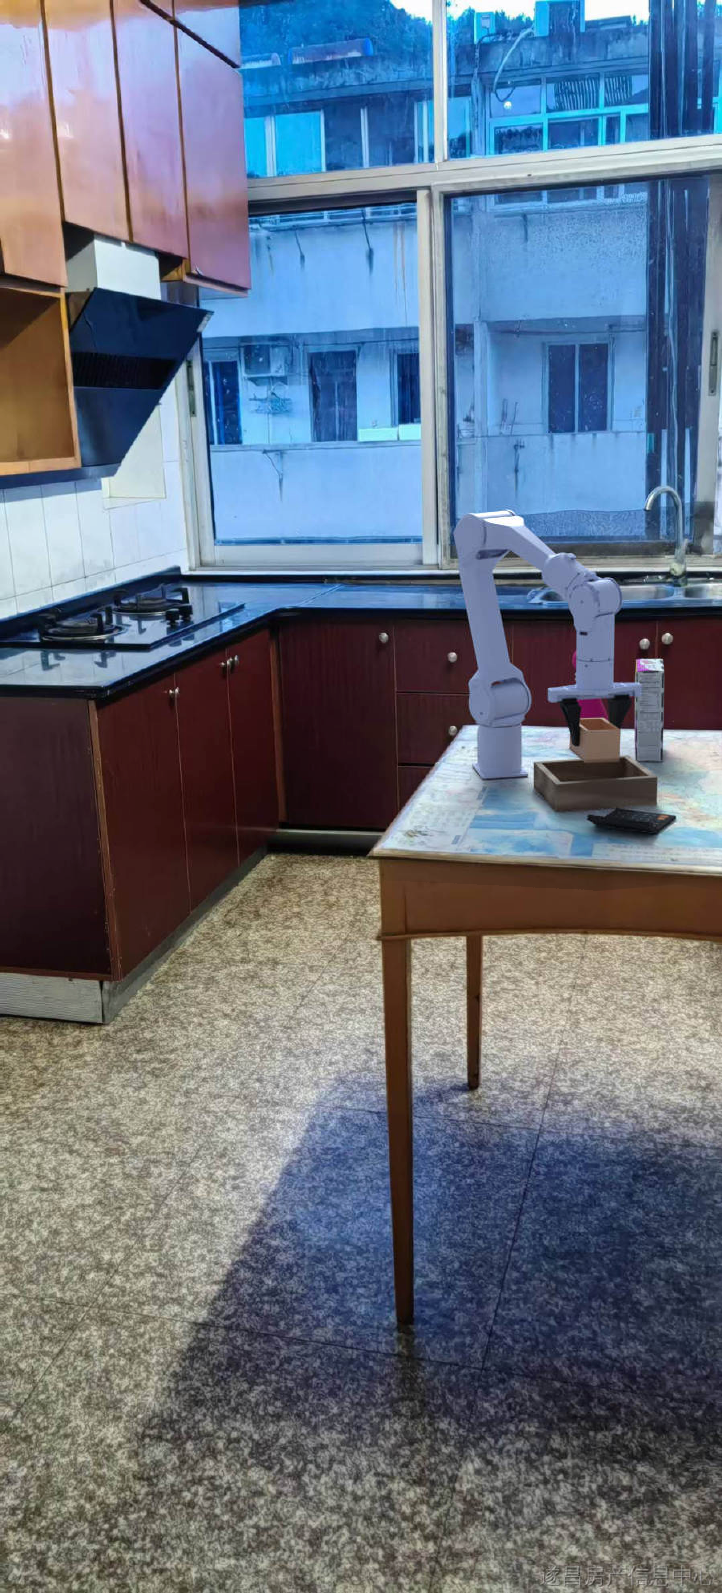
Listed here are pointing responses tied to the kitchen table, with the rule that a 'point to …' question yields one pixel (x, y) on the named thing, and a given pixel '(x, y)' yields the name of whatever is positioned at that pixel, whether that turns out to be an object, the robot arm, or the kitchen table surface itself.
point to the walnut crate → (594, 784)
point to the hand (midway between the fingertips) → (594, 743)
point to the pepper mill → (590, 703)
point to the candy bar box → (649, 710)
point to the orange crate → (597, 741)
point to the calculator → (633, 820)
